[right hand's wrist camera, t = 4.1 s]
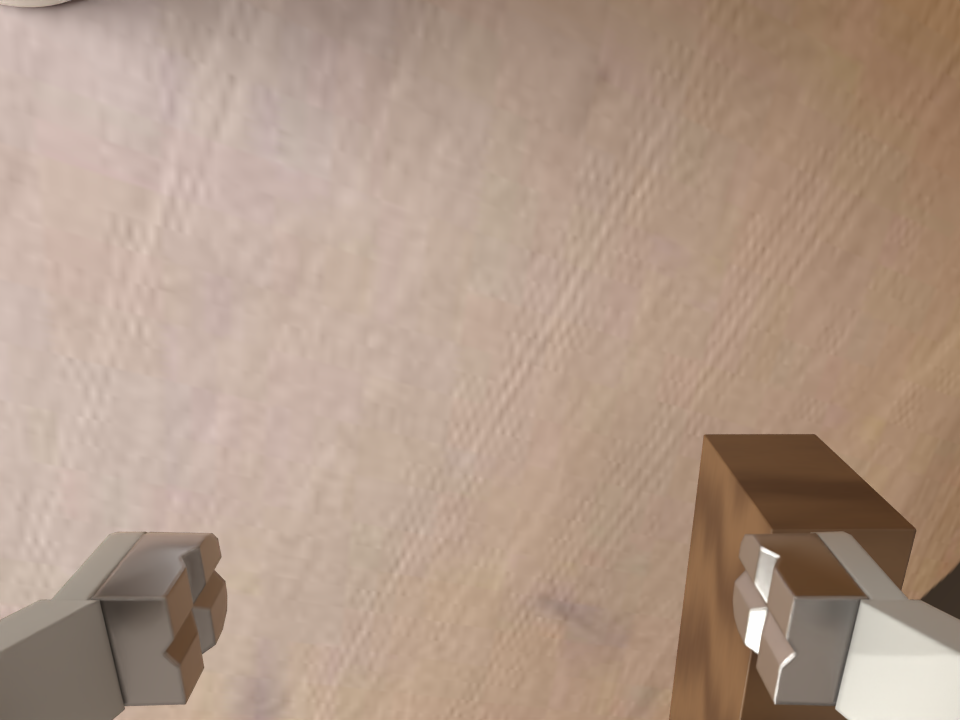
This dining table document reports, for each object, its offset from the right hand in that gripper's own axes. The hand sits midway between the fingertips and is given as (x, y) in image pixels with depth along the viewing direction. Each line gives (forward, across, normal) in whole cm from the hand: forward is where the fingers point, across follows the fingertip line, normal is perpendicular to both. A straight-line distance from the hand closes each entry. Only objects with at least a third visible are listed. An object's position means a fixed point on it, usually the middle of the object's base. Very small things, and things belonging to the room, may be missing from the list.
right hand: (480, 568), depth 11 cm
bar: (+20, -14, +19) cm, 31 cm away
